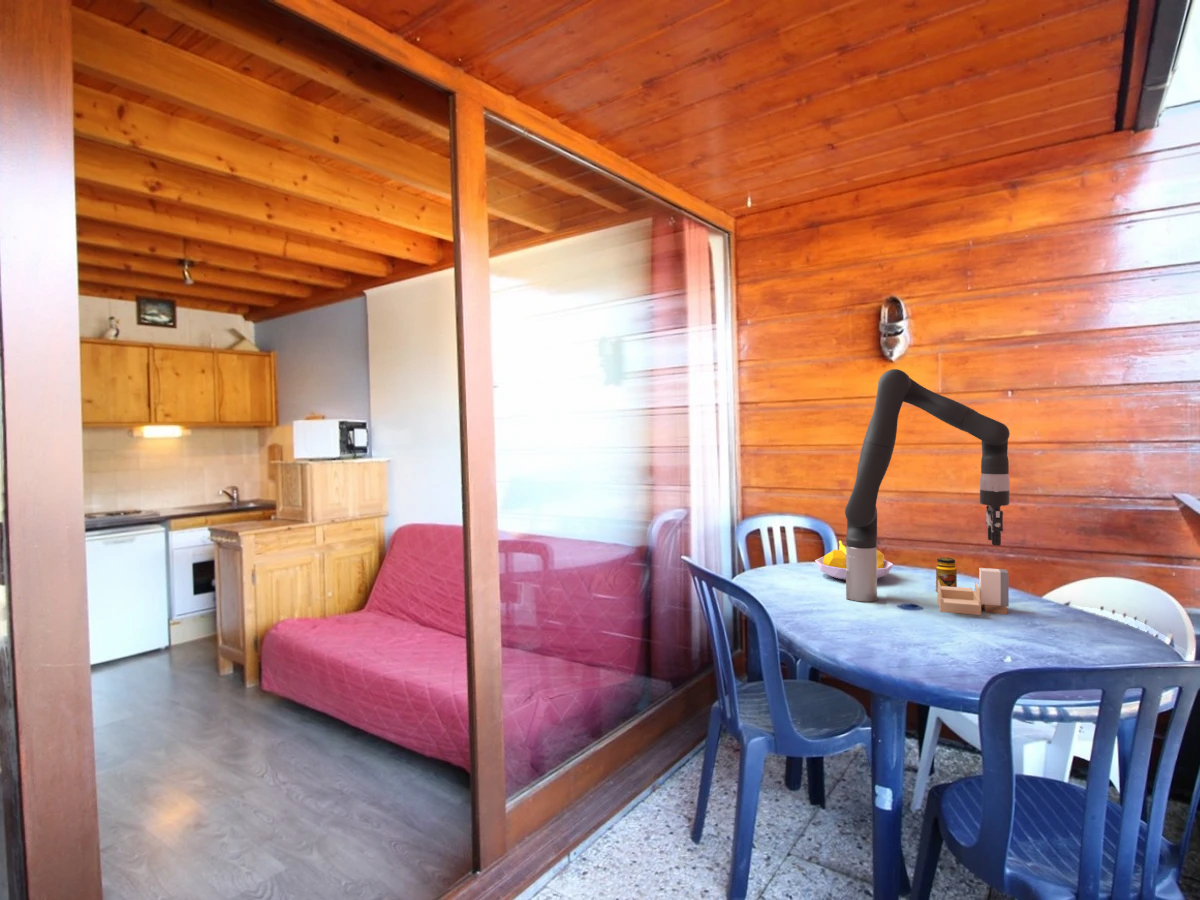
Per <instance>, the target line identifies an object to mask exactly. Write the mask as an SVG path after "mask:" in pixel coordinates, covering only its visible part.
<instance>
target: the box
mask: <svg viewBox="0 0 1200 900" xmlns="http://www.w3.org/2000/svg"><path fill="white" fill-rule="evenodd" d="M978 570H979V571H978V572H979V573H978V575H979V576H978V582H979V583H978V587H979V589H980V591H981V605H982V604H986V605H998V606H1006V607H1009V602H1010V601H1009V598H1010V597H1009V595H1010V594H1009V586H1010V585H1009V582H1010V581H1009V579H1010V578H1009V577H1010V576H1009V571H1008V570H1007V569H1006V568H1005V569H1003V568H988V567H987V568H984V567H979V569H978Z"/></svg>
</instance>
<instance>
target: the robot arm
mask: <svg viewBox="0 0 1200 900" xmlns="http://www.w3.org/2000/svg"><path fill="white" fill-rule="evenodd" d="M903 403H906V404H909V405H911V406H915V407H916V408H919V409H921V410H923V411H924V412H927V413H928V414H930V415H932V416H933V417H935V418H937V420H938V419H939V420H940V421H941V422H944V423H945V424H948V425H949V426H952V428H953V427H954V428H955V429H958V430H960V431H962V432H965V433H968V434H969V435H971V436H973V437H974V438H976V439H978V440H980V441H981V454H982V455H981V462H980V463H981V464H980V479H979V503H980V504H981V505H984V506H986V507H985V517H986V518H985V521H986V522H985V524H986V528H987V540H988V541H991V545H992V546H1001V544H1002V538H1001V537H1002V536H1001V535H1002V532H1003V531H1004V527H1003V524H1004V521H1003V520H1004V519H1003V517H1004V512H1003V510H1001V507H1002V506H1003V507H1004V506H1005V507H1006V506H1008V505H1010V477H1009V476H1010V475H1009V474H1010V473H1009V468H1010V467H1009V461H1010V460H1009V457H1008V451H1009V450H1008V446H1009V445H1008V444H1009V438H1010V429H1009V427H1008V426H1007V425H1006V424H1004V423H1003V422H1001V421H998V420H996V419H993V418H992V417H989V416H987V415H984V414H981V413H979V411H976V410H975V409H974V408H971V407H969V406H967V405H965V404H963V403H961V402H958V401H956V400H954V399H952V398H950V397H946V396H944V395H941V394H939V393H936V392H935V391H932V390H930V389H928V388H926V387H924V386H923V385H921V384H919V383H918V382H916V381H915V380H914V379H913V378H911V377H910V376H909V374H907V373H906V372H905V371H903V370H901V369H897V368H896V369H895V368H893V369H889V370H887V371H885V372H884V373H882V374H881V376H880V377H879V379H878V382H877V392H876V399H875V405H874V409H873V413H872V416H871V418H870V421H869V424H868V426H867V429H866V432H865V436H864V438H863V443H862V446H861V449H860V453H859V454H860V455H859V458H858V459H859V460H858V464H857V471H856V477H855V482H854V485H853V488H852V492H851V494H850V496H849V499H848V502H847V504H846V506H845V509H844V515H845V518H846V521H847V522H846V525H847V526H846V539H845V541H846V542H845V545H846V546H845V547H846V566H847V569H846V580H845V595H846V596H845V599H846V600H851V601H856V602H875V601H877V600H878V578H877V550H878V549H877V545H878V544H877V543H878V541H877V540H878V539H877V538H878V510H877V509H878V508H877V499H878V494H879V491H880V487H881V484H882V482H883V480H884V478H885V476H886V473H887V471H888V468H889V465H890V463H891V460H892V456H893V452H894V448H895V444H896V438H897V431H898V421H899V414H900V411H901V408H902V405H903Z"/></svg>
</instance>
